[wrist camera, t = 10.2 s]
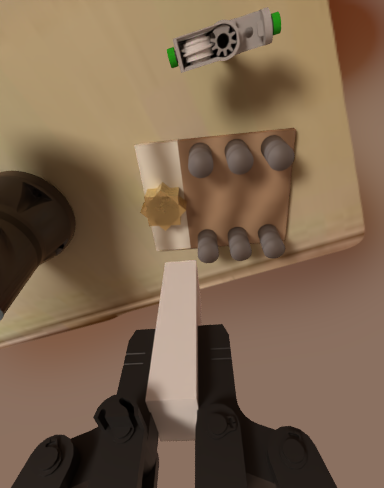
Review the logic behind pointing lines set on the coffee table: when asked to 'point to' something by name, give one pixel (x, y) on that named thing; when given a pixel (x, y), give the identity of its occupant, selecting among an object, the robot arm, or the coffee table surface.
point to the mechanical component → (224, 39)
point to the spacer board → (224, 190)
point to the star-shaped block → (163, 206)
